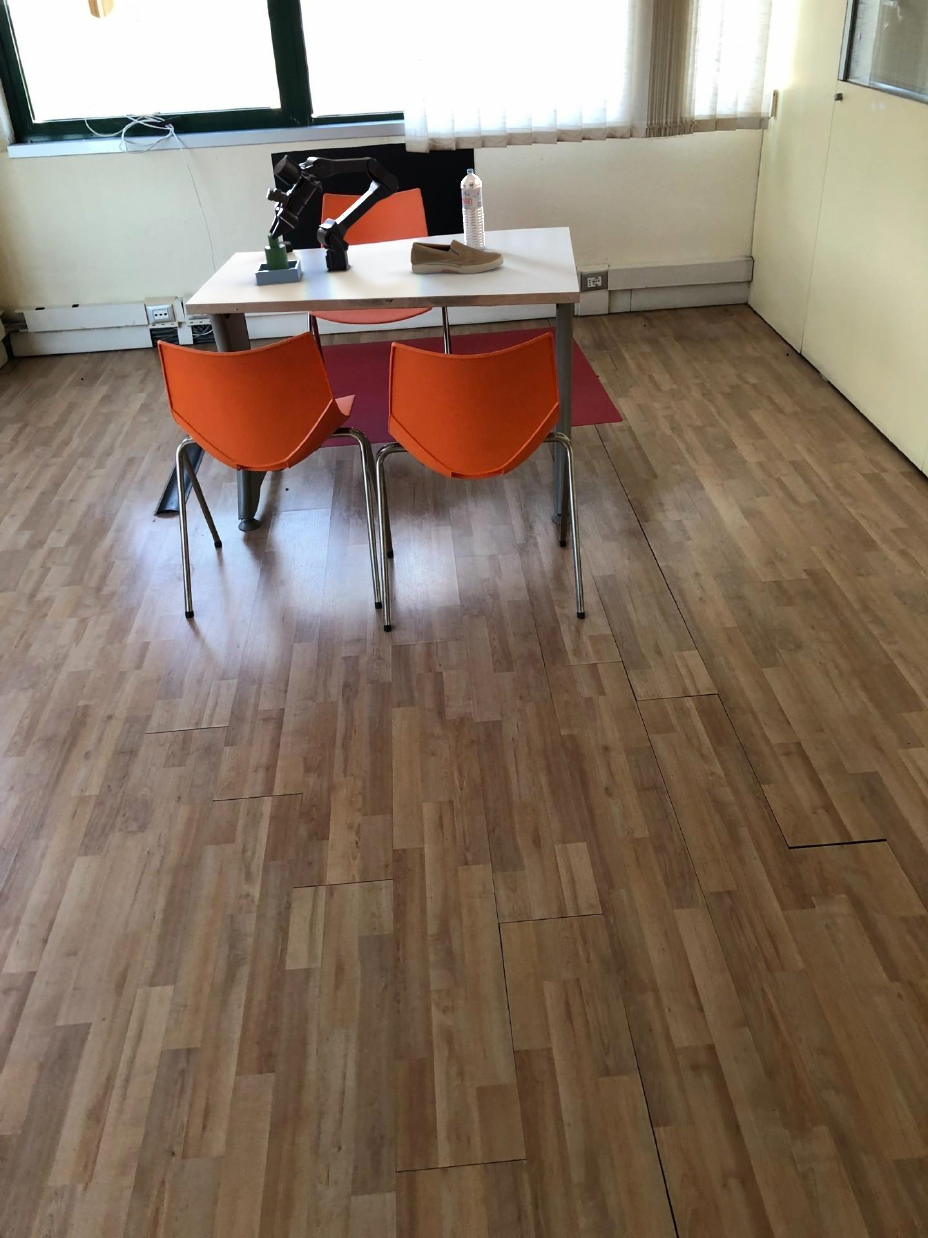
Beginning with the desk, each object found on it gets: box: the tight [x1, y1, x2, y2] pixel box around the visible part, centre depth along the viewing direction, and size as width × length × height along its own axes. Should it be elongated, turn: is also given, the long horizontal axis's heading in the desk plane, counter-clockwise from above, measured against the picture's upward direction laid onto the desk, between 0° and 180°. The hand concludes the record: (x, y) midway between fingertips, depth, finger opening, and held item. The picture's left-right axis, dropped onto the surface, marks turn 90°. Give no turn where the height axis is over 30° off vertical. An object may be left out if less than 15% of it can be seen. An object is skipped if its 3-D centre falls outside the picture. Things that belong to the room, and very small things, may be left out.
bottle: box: [264, 233, 289, 271], centre depth 309 cm, size 7×7×13 cm
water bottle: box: [460, 168, 486, 251], centre depth 322 cm, size 7×7×25 cm
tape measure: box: [279, 240, 294, 254], centre depth 343 cm, size 7×7×4 cm
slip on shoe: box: [410, 239, 505, 275], centre depth 304 cm, size 30×11×9 cm, turn 78°
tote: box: [254, 259, 303, 286], centre depth 312 cm, size 13×12×4 cm
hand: (271, 235), depth 306 cm, fingers open, 9 cm apart
